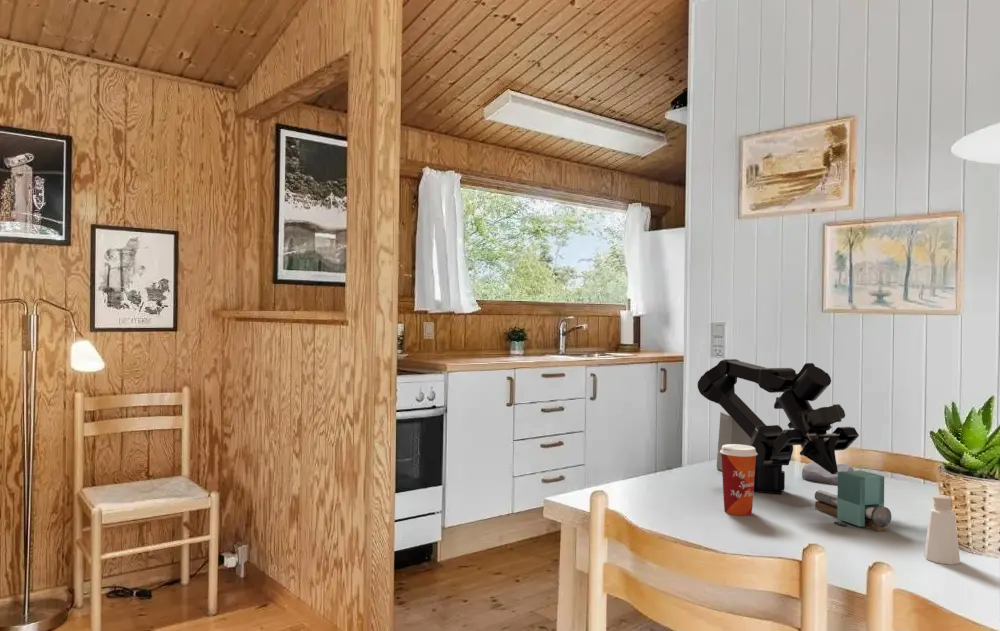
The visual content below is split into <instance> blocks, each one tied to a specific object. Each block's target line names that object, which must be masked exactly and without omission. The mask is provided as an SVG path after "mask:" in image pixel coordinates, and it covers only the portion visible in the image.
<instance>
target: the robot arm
mask: <svg viewBox="0 0 1000 631" xmlns="http://www.w3.org/2000/svg"><path fill="white" fill-rule="evenodd" d="M738 378H739V379H742V380H745V381H748V382H752V383H754V384H757V385H758V387H759V388H761V389H762V390H764V391H766V392H767V393H769V394H771V393H773V394H774V393H775V394H776V393H782V394H781V395H780V396H777V397H775V402H774V405H773V409H775V410H783V411H784V413H785V415H786V417H787V419H788V420H789V422H788V424H787V426H788V428H789V429H783V428H782V427H781V426H780V425H779V424H775V425H774V424H772V425H767V424H765V422H763V420H762V419H760V417H759V416H758V415H757V414H756V413H755V412H754V411H753V410H752V409H751V408H750V407H749V406H748V405H747V404H746V403H745V401H743V400H742V398H740V397H739V396H738V395H737V394H736V393H735V392H736V391H735V385H736V384H737V382H738ZM831 378H832V377H831V376H830V374H829V373H828V372H826V371H825V370H823V369H821V367H817V366H816V365H815V364H814V363H813V362H806V363H805V364H804V365H803V366H802V368H801V370H799V372H798V373H797V372H796V370H795V369H794V368H793V367H765V366H761V365H756V364H754V363H753V364H752V363H749V362H746V361H745V362H744V361H740V360H739V359H737V358H736V359H735V358H734V359H732V358H731V359H730V358H729V359H728V358H726V359H725V358H724V359H722V360H720V361H718V363H717V364H716V365H715V366H713V367H712V368H710V369H708V370H706V371H705V373H703V374H702V375H701V376H700V378H699V379H698V381H697V390H698V392H699V394H700V395H701V396H703V397H704V398H705V399H707V400H708V401H710V402H713V403H715V404H718V405H720V406H721V408H722V409H723V410H724V412H727V413H728V414H729V415H730V416H731V417H732V418H733V419H734V421H735V422H736V423H737V424H738V425H739V426H740V427H741V428H742V429H743V430H744V431H745V433H746V434H747V435H748V436H749V437H750V438H751V446H752V447H754V448H755V449H756V452H757V455H756V462H755V477H754V492H759V493H768V494H776V495H777V494H779V495H783V491H784V490H785V487H786V486H785V485H786V484H785V482H786V480H785V479H786V476H785V474H786V472H785V470H783V466H789V465H790V462H791V458H792V455H793V453H794V452H793V451H794V446H800V449H802V450H801V451H800V452H799V455H800V456H804V457H806V458H807V459H808V460H810V461H811V462H815V463H817V464H818V465H820V466H821V467H822V468H824V469H825V470H827V471H828V472H830V473H831V474H836V473H837V472H838V470H837V464H838V463H837V459H836V451H844V450H846V449H848V448H849V447H850V446H851V445H852V444H853V443H854V442H855V441H856V440H857V439H858V438H859V436H860V435H859V433H858V432H857V429H856V428H855V427H853V426H838V427H837V428H836V429H835V430H833V432H831V433H827V432H828V431H830V430H831V429H832V428H833V427H832V425H833V424H835V423H841V422H842V419H845V417H846V413H845V410H844V408H843V407H842V405H841V404H840V403H839V404H838V403H837V404H832V405H830V406H823V407H819V408H816V409H814V408H813V406H812V405H811V403H810V402H815V401H816V400H818V398H820V396H821V394H823V393H824V391H825V390H827V388H828V387H829V386H830V385H831V384H832V379H831Z"/></svg>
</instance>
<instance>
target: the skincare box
mask: <svg viewBox="0 0 1000 631" xmlns="http://www.w3.org/2000/svg"><path fill="white" fill-rule="evenodd" d="M719 414H720V415H719V425H718V426H719V430H718V442H717V443H718V444H717V455H716V456H717V458H716V469H717V470H719V471H721V472H722V456H721V453H720V450H721V449H722V446H723V445H727V444H740V445H748V446H751V438H750V437H749V436H748V435H747V434H746V433H745V431H744V430H743V429H742V428H741V427H740V426H739V425H738V424H737V423H736V422H735V421H734V419H733V418H732V417H731V416H730V415H729V414H728V413H727V412H726V411H720V413H719Z"/></svg>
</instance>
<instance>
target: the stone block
mask: <svg viewBox="0 0 1000 631" xmlns="http://www.w3.org/2000/svg"><path fill="white" fill-rule="evenodd" d="M836 464H837V470H838V472H843V471H854V468H853V467H852V466H851V465H849V464H847V463H836ZM838 472H837V473H836V474H831V473H830V472H828V471H827V470H825V469H824V468H822V467H821V466H820V465H818V464H817V463H815V462H813V461H811V462H809V463H806V464H804V466H802V470H801V478H802V479H803V480H807V481H813V482H819V483H824V484H825V483H826V484H830V485H837V486H838Z"/></svg>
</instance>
